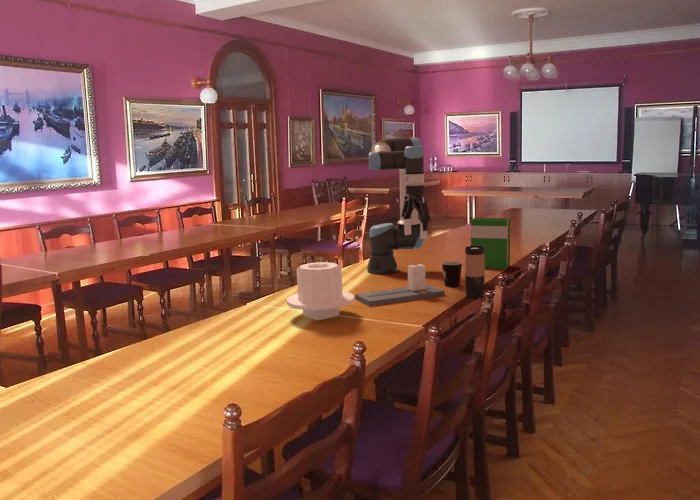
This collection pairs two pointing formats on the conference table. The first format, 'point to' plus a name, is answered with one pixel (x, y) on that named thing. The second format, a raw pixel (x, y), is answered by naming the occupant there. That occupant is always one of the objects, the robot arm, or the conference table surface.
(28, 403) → the conference table surface
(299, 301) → the ribbed cylinder on disc
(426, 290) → the fader console
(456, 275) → the coffee mug
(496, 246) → the hardback book
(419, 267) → the fader tab
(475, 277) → the travel mug
